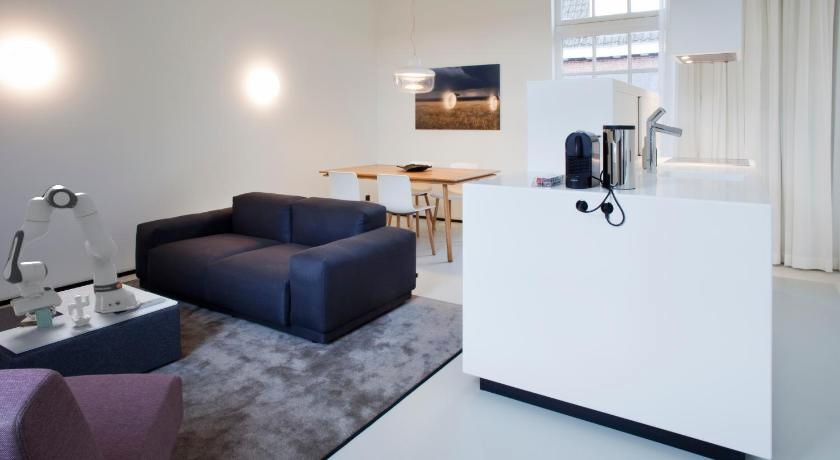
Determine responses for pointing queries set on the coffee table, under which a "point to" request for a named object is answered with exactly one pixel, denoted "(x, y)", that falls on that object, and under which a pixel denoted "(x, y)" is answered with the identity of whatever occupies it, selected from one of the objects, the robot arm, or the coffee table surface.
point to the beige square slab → (30, 321)
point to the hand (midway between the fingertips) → (44, 316)
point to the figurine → (80, 310)
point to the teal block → (43, 317)
